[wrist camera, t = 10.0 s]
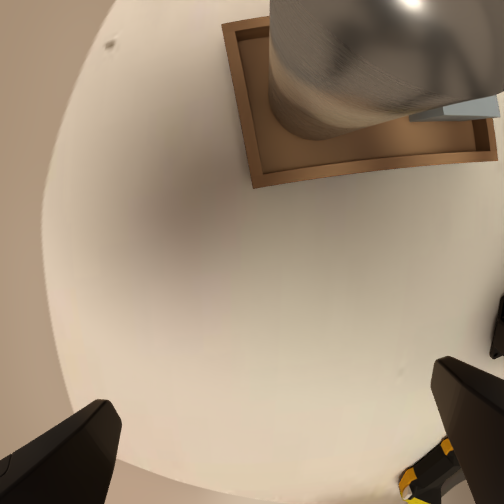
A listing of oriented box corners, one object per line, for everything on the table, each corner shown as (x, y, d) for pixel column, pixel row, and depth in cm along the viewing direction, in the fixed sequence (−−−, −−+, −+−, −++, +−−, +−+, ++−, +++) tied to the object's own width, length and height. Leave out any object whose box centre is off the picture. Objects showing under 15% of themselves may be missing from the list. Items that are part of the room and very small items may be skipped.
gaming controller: (502, 423, 25) (471, 408, 24) (520, 450, 20) (492, 441, 18) (421, 492, 29) (377, 486, 28) (430, 520, 23) (385, 520, 22)
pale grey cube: (448, 61, 14) (483, 45, 10) (461, 121, 15) (500, 116, 11) (395, 58, 14) (425, 37, 10) (409, 122, 15) (444, 115, 11)
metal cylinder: (348, 52, 14) (468, -86, 2) (366, 135, 16) (552, 108, 3) (260, 61, 15) (243, -116, 2) (277, 146, 16) (312, 103, 4)
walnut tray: (443, 37, 15) (467, 22, 11) (468, 158, 17) (497, 160, 14) (228, 45, 16) (221, 24, 13) (255, 183, 19) (253, 188, 15)
